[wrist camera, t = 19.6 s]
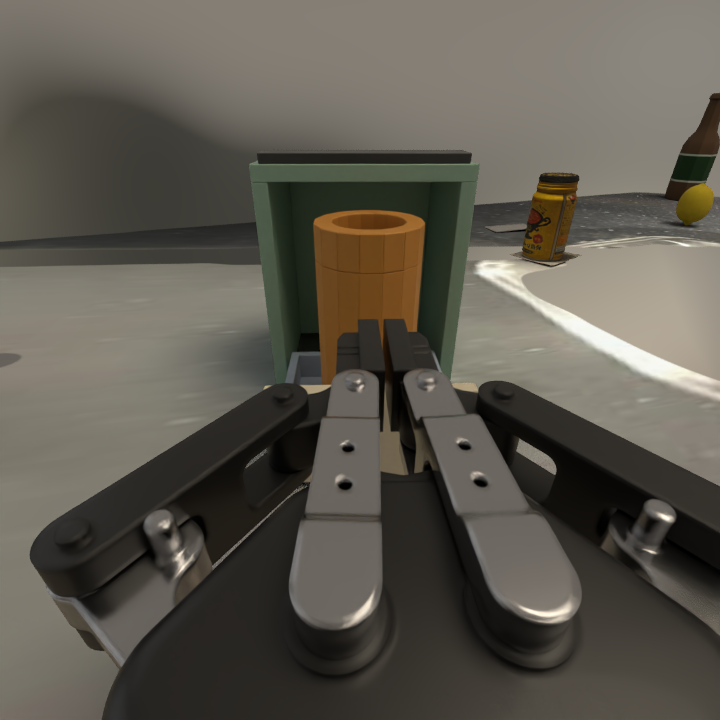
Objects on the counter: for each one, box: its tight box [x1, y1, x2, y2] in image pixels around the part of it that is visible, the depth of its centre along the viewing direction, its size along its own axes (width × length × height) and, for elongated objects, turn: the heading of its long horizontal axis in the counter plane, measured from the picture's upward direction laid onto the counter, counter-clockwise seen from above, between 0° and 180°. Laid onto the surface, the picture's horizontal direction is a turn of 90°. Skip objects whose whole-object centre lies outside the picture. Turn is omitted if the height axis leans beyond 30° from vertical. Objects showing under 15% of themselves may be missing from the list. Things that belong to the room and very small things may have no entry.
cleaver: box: [485, 224, 527, 233], centre depth 81 cm, size 13×1×5 cm
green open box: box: [249, 150, 479, 384], centre depth 34 cm, size 14×11×17 cm
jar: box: [313, 210, 425, 385], centre depth 26 cm, size 6×6×13 cm
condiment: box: [512, 173, 580, 266], centre depth 62 cm, size 7×8×12 cm
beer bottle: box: [665, 93, 720, 201], centre depth 105 cm, size 8×8×24 cm
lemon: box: [676, 183, 714, 225], centre depth 82 cm, size 6×6×8 cm
